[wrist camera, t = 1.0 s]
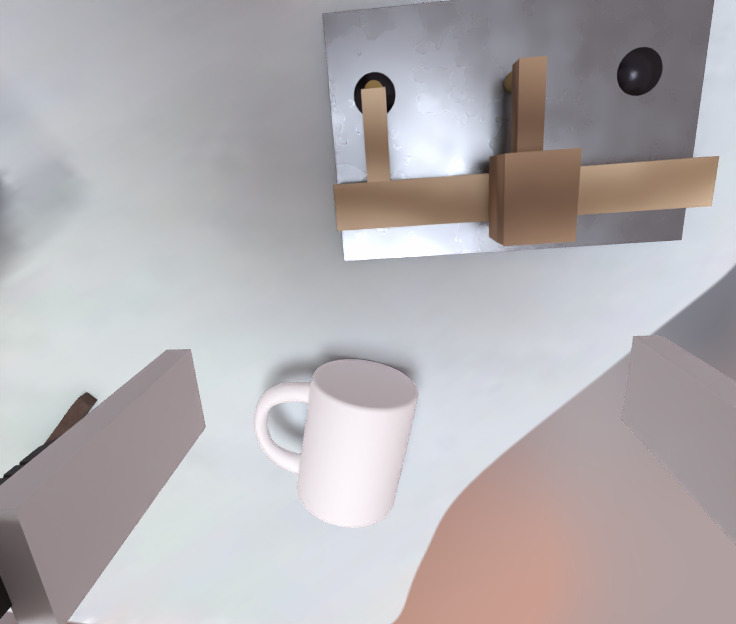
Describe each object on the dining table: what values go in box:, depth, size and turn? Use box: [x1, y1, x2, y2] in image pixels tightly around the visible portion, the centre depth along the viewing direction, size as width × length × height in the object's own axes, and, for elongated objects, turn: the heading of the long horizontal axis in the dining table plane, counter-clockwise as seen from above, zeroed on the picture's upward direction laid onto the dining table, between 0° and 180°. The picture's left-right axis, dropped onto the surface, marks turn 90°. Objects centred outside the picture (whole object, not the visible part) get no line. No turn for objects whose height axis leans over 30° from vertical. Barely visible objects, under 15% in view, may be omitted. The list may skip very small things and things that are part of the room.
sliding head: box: [489, 56, 582, 246], centre depth 27 cm, size 10×4×6 cm, turn 4°
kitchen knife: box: [45, 393, 97, 444], centre depth 41 cm, size 4×1×30 cm
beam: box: [333, 80, 719, 231], centre depth 29 cm, size 9×24×2 cm, turn 94°
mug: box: [254, 359, 418, 527], centre depth 34 cm, size 12×10×8 cm
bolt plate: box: [323, 0, 714, 261], centre depth 30 cm, size 16×24×1 cm, turn 94°
